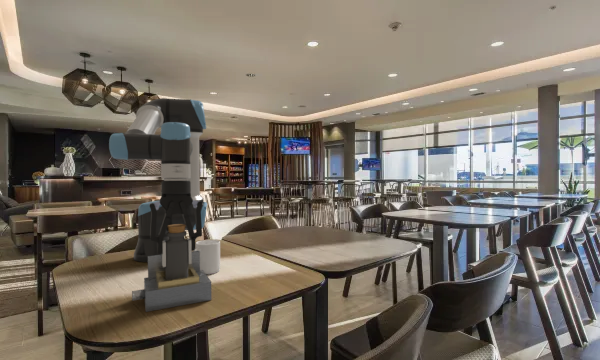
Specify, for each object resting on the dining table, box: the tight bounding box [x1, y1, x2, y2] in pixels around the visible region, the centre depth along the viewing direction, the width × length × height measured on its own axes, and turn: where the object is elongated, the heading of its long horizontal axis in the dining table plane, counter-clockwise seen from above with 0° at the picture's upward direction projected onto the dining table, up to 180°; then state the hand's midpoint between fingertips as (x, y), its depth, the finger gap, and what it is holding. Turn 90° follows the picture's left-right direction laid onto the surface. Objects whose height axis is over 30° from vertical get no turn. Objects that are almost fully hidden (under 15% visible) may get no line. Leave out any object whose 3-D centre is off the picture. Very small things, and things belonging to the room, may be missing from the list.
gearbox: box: [131, 251, 212, 313], centre depth 87 cm, size 12×19×11 cm, turn 117°
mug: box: [195, 239, 221, 276], centre depth 111 cm, size 12×8×10 cm
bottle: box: [165, 224, 188, 280], centre depth 88 cm, size 6×6×15 cm
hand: (176, 263), depth 88 cm, fingers closed on bottle, 6 cm apart
